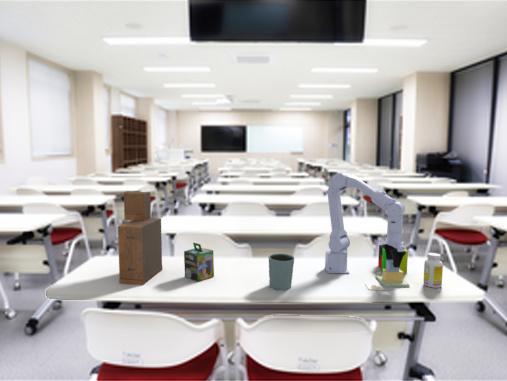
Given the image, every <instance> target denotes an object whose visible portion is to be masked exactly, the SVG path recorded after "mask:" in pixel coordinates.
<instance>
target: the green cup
mask: <svg viewBox="0 0 507 381" xmlns="http://www.w3.org/2000/svg"><path fill="white" fill-rule="evenodd" d="M294 264H295V256H293V255H290V254H287V253H274V254H273V253H272V254H270V255H269V256H268V276H269V277H268V279H269V280H268V281H269V282H268V283H269V288H271V290H275V291H288V290H290V289H291V288H292V282H293V281H292V280H293V274H294Z"/></svg>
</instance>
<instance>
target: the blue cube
mask: <svg viewBox="0 0 507 381" xmlns="http://www.w3.org/2000/svg"><path fill="white" fill-rule="evenodd" d="M386 270H387V271H389V272H399V268H395V267H394V266H393V260H386Z"/></svg>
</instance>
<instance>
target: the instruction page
mask: <svg viewBox="0 0 507 381" xmlns="http://www.w3.org/2000/svg"><path fill="white" fill-rule="evenodd" d="M365 287H366V288H367V289H368V290H369V291H372V290H374V291H385V290H386V289H385V288H384V286H383V285H382V284H365Z"/></svg>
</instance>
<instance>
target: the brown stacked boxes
mask: <svg viewBox="0 0 507 381" xmlns="http://www.w3.org/2000/svg"><path fill="white" fill-rule="evenodd" d="M123 209H124V210H123V213H124V221H128V222H125V223H124V224H120V225H117V236H118V237H117V239H118V240H117V241H118V244H117V245H118V267H119V268H118V269H119V270H118V271H119V273H118V274H119V279H118V282H119V284H121V285H123V284H124V285H139V286H144V285H145V284H147V283H148V282H149V281H150V280H152V279H153V278H154V277H155V276H157V275H158V274H159V273H161V272H162V271H163V253H162V252H163V251H162V250H163V247H162V244H163V243H162V240H163V239H162V218H157V217H156V218H152V214H151V213H152V211H151V192H150V191H127V192H123Z"/></svg>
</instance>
